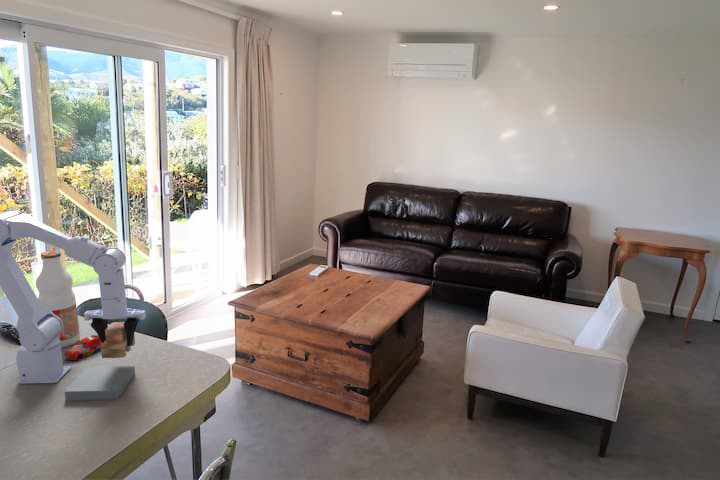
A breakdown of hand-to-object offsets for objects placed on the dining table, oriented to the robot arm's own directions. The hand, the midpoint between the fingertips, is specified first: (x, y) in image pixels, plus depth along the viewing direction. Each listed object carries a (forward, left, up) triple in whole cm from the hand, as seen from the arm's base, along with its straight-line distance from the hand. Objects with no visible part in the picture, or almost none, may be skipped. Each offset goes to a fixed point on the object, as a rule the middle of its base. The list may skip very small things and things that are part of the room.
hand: (118, 344), depth 129 cm
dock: (-2, -6, -9) cm, 11 cm away
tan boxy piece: (0, 0, -2) cm, 2 cm away
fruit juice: (-24, +20, -9) cm, 32 cm away
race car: (-14, +13, -9) cm, 22 cm away
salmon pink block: (0, 0, +2) cm, 2 cm away
